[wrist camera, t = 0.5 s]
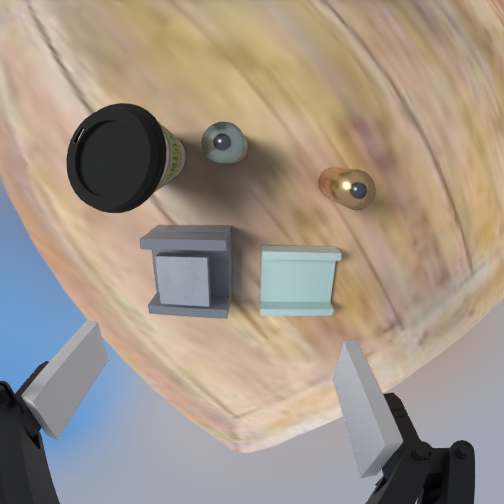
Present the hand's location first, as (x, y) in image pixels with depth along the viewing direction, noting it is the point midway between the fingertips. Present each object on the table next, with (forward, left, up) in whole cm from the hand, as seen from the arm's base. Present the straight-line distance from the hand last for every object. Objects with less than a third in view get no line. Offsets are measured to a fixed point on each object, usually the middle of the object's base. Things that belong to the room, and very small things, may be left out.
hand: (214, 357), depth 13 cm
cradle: (+4, -6, -24) cm, 25 cm away
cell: (-7, +12, -24) cm, 28 cm away
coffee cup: (-10, -10, -24) cm, 28 cm away
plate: (+4, -6, -19) cm, 20 cm away
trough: (+6, +8, -24) cm, 26 cm away
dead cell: (-11, -1, -24) cm, 27 cm away
